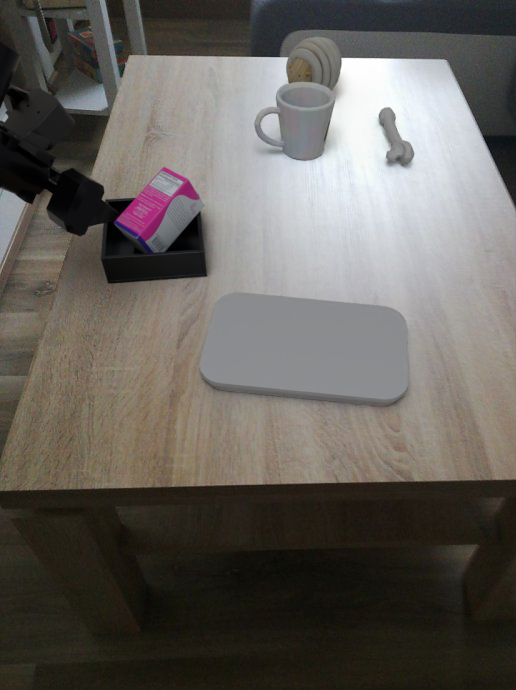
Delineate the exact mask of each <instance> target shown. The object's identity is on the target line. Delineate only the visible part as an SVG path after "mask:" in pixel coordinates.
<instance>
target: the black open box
mask: <svg viewBox="0 0 516 690" xmlns="http://www.w3.org/2000/svg"><path fill="white" fill-rule="evenodd" d="M197 194H198V195H199V196H200V194H199V193H197ZM135 198H136V197H124V198H105V199H104V202H106V203H107V204H108V205H109V206H111V207H112V208H113V209H115V210H116V211H117V212H118V213H119V215H118V217H119V216H120V215H121V214H122V213H123V212H124V211H125V209H126V208H127V207H128V206H129V205H130V204H131V203H132V202H133V201H134V199H135ZM202 219H203V218H202V209H201V210H200V212H199V213H198V214H197V215H196V216H195V217H194V218H193V220H192V221H191V222H190V223H189V224H188V225H187V227H186V228H185V229H184V230H183V231H182V232H181V234H180V235H179V236H178V237H177V238H176V239H175V241H174V242H173V243H172V244H171V245H170V246H169V247H168V249H167V250H166V251H165V252H156V253H143V252H141V251H139V250H138V249H137V248H135V247H134V246H133V245H132V244H131V242H130V241H129V240H128V239H127V238H126V236H125V235H124V234H123V233H122V232H121V231H120V230H119V228H117V227H116V225H115V224H114V222H115V221H113V222H108V223H103V224H102V234H101V235H102V237H101V249H100V250H101V251H100V261H101V265H102V269H103V272H104V274H105V278H106V282H107V284H108V285H111V284H121V283H122V284H123V283H137V282H138V283H139V282H149V281H163V280H164V281H165V280H176V279H177V280H178V279H191V278H203V277H208V271H207V269H208V268H207V260H206V249H205V239H204V231H203V220H202Z"/></svg>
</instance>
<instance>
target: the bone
mask: <svg viewBox="0 0 516 690" xmlns="http://www.w3.org/2000/svg"><path fill="white" fill-rule="evenodd" d="M396 119H397V117H396V113H395V112H394V110H393V109H392V108H391V107H389V106H388V107H387V106H386V107H383V108H381V109H380V111H379V113H378V120H379V124H380V125H382V126H383V128H384V131H385V132H386V137H387V138H388V142H390V145H391V147H390V149H389V150H387V151H386V154H385V158H386V160H387V161H388V162H390V163H391V162H394V161H396V162H398V164H400V165H401V166H407V165H408V164H410V163H411V162H412V160H413V159H414V157H415V151H414V147H413V145H412V143H411V142H410V141H408V140H404V139H403V138H402V136H401V135H400V132H399V131H398V128H397V125H396Z"/></svg>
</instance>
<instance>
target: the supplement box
mask: <svg viewBox="0 0 516 690" xmlns="http://www.w3.org/2000/svg"><path fill="white" fill-rule="evenodd" d="M198 194H199V193H198V191H196V189H195V187H194V186H193V184H192V182H191V181H190V179H188V178H187V177H185V176H183V175H181V174H179V173H177V172H175V171H173V170H172V169H170V168H167V167H166V166H163V167H162V168H161V169H160V170H159V171H158V173H156V175H154V177H153V178H152V179H151V180H150V181H149V182H148V183H147V185H146V186H145V187H144V188H143V189H142V190H141V191H140V193H139V194H138V195H137V196H136V197H134V198H135V199H134V201H133V202H132V203H131V204H130V205H129V206H128V207H127V208H126V209H125V211H124V212H123V213H122V214H121V215H120V216H119V217H118V218H117V220H116V221H115V222H114V224H115V225H116V227H117V228H119V230H120V231H121V232H122V233H123V234H124V235H125V236H126V238H127V239H128V240H129V241H130V242H131V244H132V245H133V246H134V247H135V248H137V249H138V250H139V251H141V252H143V253H156V252H165V251H166V250H167V249H168V247H169V246H170V245H171V244H172V243H173V242H174V241H175V239H176V238H177V237H178V236H179V235H180V234H181V232H182V231H183V230H184V229H185V228H186V227H187V225H188V224H189V223H190V222H191V221H192V220H193V218H194V217H195V216H196V215H197V214H198V213H199V212H200V210H201V211H202V210H203V208H204V207H205V203H204V202H203V200H202V198H201V197H200V194H199V195H198Z"/></svg>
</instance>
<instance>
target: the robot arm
mask: <svg viewBox="0 0 516 690" xmlns="http://www.w3.org/2000/svg"><path fill="white" fill-rule="evenodd" d="M21 59H22V55H20V54H19V53H18V52H16V51H15V50H13V49H12V48H11V47H9V46H8V45H6V44H4V43H3V42H1V41H0V109H1V108H2V106H3V105H4V106H5V110H6V111H5V112H4V113H5V115H7V119H6V120H5V121H3V120H0V190H4V191H6V192H8V193H11V194H13V195H15V196H16V197H18V198H19V199H20V200H21V201H23V202H25V203H28V204H30V205H33V204H34V201H35V199H36V197H37V195H38V196H39V195H42V193H43V191H44V190H47V192H49V193H50V194H51V196H50V199H49V201H48V203H47V205H46V207H45V210H46V213H47V216H48V219H49V220H50V221H52V222H53V223H54V224H55V225H57V226H58V227H60V228H61V229H62V230H64V231H65V232H67V233H69V234H71V235H75V236H77V237H80V238H81V237H82V236H85V235H86V234H87V232H88V230H89V228H90V227H94V226H98V225H103V223H108V222H113V221H116V220H117V218H118V215H119V213H118V212H117V211H116V210H115V209H113V208H112V207H111V206H109V205H108V204H107V203H106V202H105V200H104V199H103V197H104V195H105V187H104V185H103V184H101V183H100V182H98V181H97V180H95V179H94V178H92V177H91V176H89V175H87V174H86V173H84V172H82V171H80V170H79V169H76V168H75V167H70V168H68V169H66V170H63V171H62V172H61V171H59V170H58V169H57V168H55V167H54V162H55V160H56V158H57V156H56V155H55V154H53V153H52V152H50V150H51V151H52V150H53V149H54V148H55V147H56V146H57V145H58V144H59V143H60V142H61V140H63V138H64V137H66V135H67V134H68V133H71V132H72V131H73V130H74V128H75V126H76V121H75V119H74V118H73V116H72V115H70V113H69V112H68V110H67V109H66V108H65V107H64V105H62V103H61V102H60V100H59V99H58V97H56V96H54V95H53V94H50V93H49V92H47V91H45V90H44V89H42V88H40V87H34V88H33V87H32V86H31V85H29V86H28V87H26V88H27V91H26V90H25V89H22V88H20V87H18V86H16V85H13V84H11V83H12V81H13V78H14V75H15V73H16V71H17V68H18V66H19V63H20V61H21Z"/></svg>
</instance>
